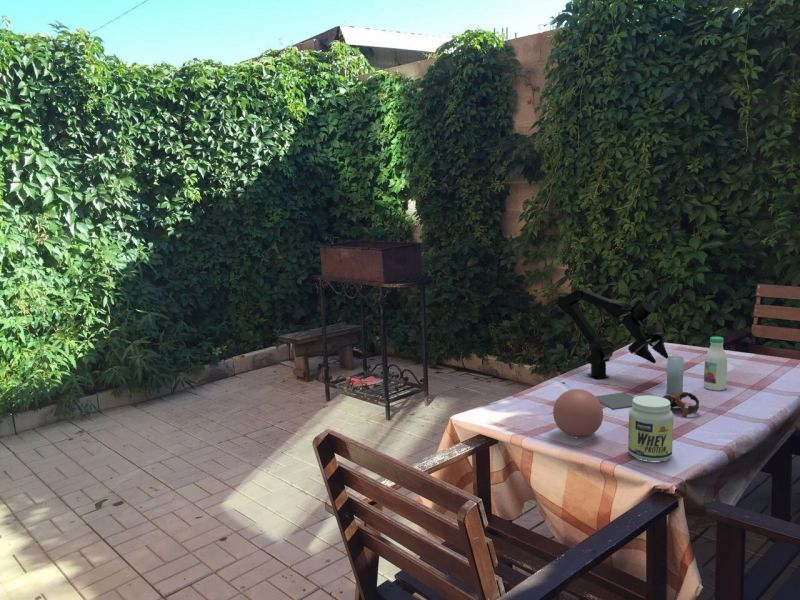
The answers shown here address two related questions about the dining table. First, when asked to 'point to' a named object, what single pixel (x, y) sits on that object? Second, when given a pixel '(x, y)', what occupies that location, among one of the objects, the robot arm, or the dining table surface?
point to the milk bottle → (715, 365)
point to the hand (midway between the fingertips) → (661, 360)
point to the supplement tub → (650, 428)
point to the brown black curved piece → (677, 402)
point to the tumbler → (675, 375)
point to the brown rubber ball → (578, 413)
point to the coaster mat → (616, 400)
